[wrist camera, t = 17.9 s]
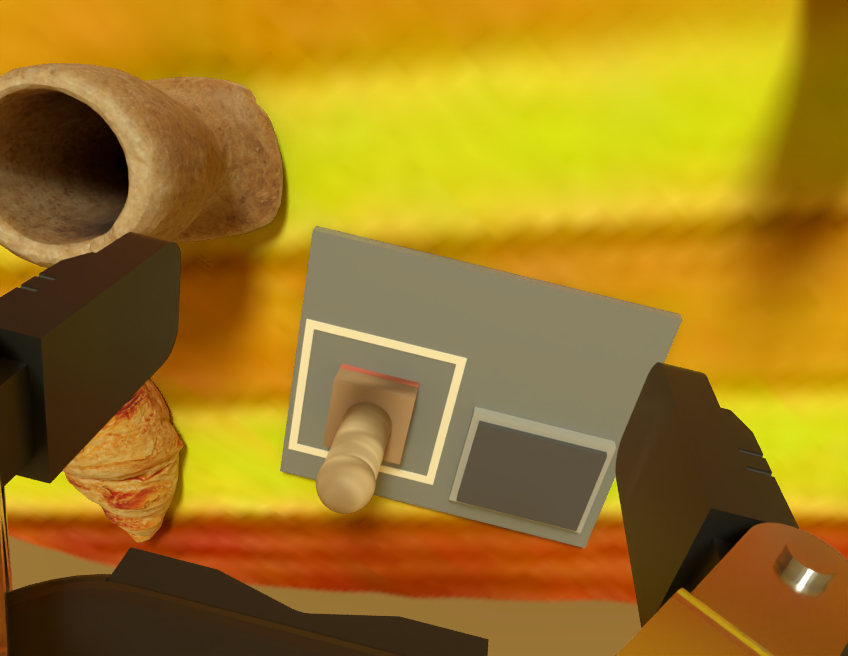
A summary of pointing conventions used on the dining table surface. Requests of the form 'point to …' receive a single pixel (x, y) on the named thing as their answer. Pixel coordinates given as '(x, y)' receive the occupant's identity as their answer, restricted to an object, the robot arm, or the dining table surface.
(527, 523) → the desk board
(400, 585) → the dining table surface
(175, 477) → the croissant
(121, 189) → the tan boot
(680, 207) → the dining table surface
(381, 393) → the stamp
